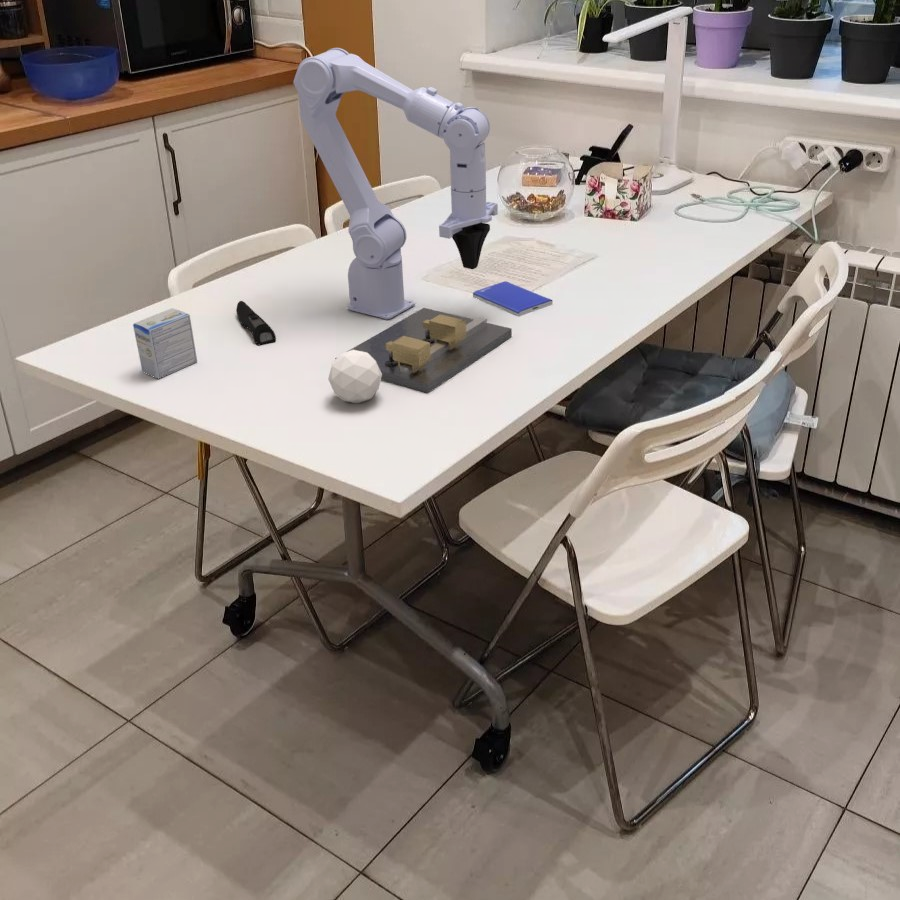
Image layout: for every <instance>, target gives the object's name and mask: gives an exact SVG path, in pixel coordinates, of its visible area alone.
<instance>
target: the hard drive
mask: <svg viewBox="0 0 900 900" xmlns="http://www.w3.org/2000/svg"><path fill="white" fill-rule="evenodd" d="M472 298H474V299H476V298H477V299H476V300H478V299H479V301H481V302H483V303H485V302H486V303H485V304H488V305H491V306H493V307H495V308H498V309H499V310H502V311H505V312H507V313H509V314H512V315H514V316H517V317H521V316H524V315H527V314H529V313H532V312H535V311H537V310H540V309H544V308H546V307H548V306H551V305H553V299H551V298H548V297H546V296H543V295H542V294H541V295H540V294H539V293H538V294H537V293H535V292H534V291H532V290H528V289H526V288H523V287H521V286H519V285H516V284H515V283H511V282H509V281H506V280H504V281H502V282H498V283H496V284H495V283H494V284H492V285H489V286H486V287H484V288H481V289H477V290H475V291H473V292H472Z"/></svg>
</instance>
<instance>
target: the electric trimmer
mask: <svg viewBox="0 0 900 900" xmlns="http://www.w3.org/2000/svg"><path fill="white" fill-rule="evenodd" d="M236 305H237V306H236V315H237V316H238V319H239V322H240V323H241V325H242V327H243V328H244V329H248V330H249V332H251V333H252V335H253V336H252V337H253V340H254V343H255V344H256V345H259V347H260V346H264V345H265V346H266V345H269V344H275V343H276V340H277V337H276V333H275V331H274V330H273V328H272V327H271V325H269V324H268V323H267V322H266V321H265V320H264V319H263V318H262V317H261V316H260V315H258V314H257V313H256V312H255V311H254V310H253V309H252V308H251V307H250V306H249V305H248V304H247V303H246V302H245V301H243V300H239V301H238V302H237V304H236Z"/></svg>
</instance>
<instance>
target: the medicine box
mask: <svg viewBox="0 0 900 900" xmlns="http://www.w3.org/2000/svg"><path fill="white" fill-rule="evenodd" d="M132 326H133V332H134V337H135V342H136V346H137V352H138V356H139V357H138V358H139V361H140V366H141V370H142V372H143V373H144V372H145V373H147V374H146V375H148V374H149V375H148V376H150V375H152V376H154V377H156V378H155V379H157V378H158V379H157V380H159V378H160V379H162V378H165V377H166V375H167V376H169V375H171V374H173V373H175V372H177V371H181V370H182V369H184V368H186V367H189V366H190V365H193V364H195V363H197V362H198V357H197V351H196V345H195V339H194V333H193V325H192V319H191V315H190V314H189V313H187V312H185V311H182V310H180V309H177V308H169V309H167V310H164V311H161V312H158V313H156V314H154V315H151V316H149V317H146V318H144V319H142V320H139V321H137V322H134V323H133V324H132ZM145 373H144V374H145ZM152 376H151V377H152ZM154 377H153V378H154ZM161 377H162V378H161Z"/></svg>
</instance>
